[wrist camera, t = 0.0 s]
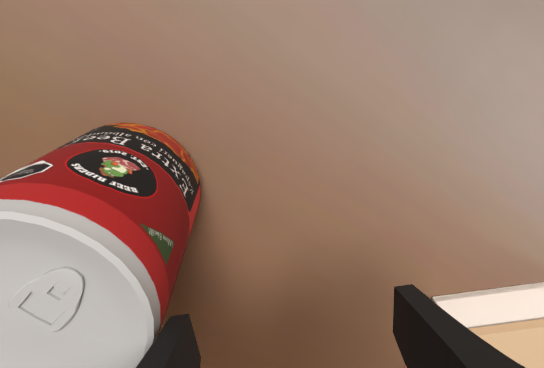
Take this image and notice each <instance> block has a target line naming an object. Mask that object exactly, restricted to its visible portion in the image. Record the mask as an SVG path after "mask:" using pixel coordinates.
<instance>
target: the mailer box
mask: <svg viewBox="0 0 544 368" xmlns="http://www.w3.org/2000/svg"><path fill="white" fill-rule="evenodd" d="M432 301H433V302H435V303H436V304H437V305H438V306H440V307H441V308H442V309H443V310H445V311H446V312H447V313H448V314H450V315H451V316H452V317H453V318H455V319H456V320H457V321H459V322H460V323H461V324H463V325H464V326H465V327H467V328H468V329H470V328H478V327H485V326H492V325H500V324H507V323H515V322H522V321H530V320H537V319H544V282H540V283H532V284H525V285H517V286H510V287H502V288H495V289H487V290H480V291H472V292H465V293H457V294H450V295H442V296H434V297H432Z"/></svg>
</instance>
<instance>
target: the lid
mask: <svg viewBox="0 0 544 368" xmlns="http://www.w3.org/2000/svg"><path fill="white" fill-rule="evenodd" d="M469 330H470V331H472V332H473V333H475V334H476V335H477V336H479V337H480V338H481V339H483V340H484V341H486V342H487V343H489V344H490V345H492V346H493V347H494V348H496V349H497V350H499V351H500V352H502V353H503V354H505V355H506V356H508V357H509V358H511V359H512V360H514V361H516V362H517V363H519V364H520V365H522V366H524V367H525V368H544V319H537V320H530V321H522V322H515V323H507V324H500V325H492V326H485V327H478V328H470V329H469Z"/></svg>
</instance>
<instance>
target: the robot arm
mask: <svg viewBox="0 0 544 368" xmlns="http://www.w3.org/2000/svg"><path fill="white" fill-rule="evenodd" d="M393 333H394V336H395V339H396V341H397V344H398V347H399V349H400V352H401V354H402V357H403V359H404V362H405V364H406V366H407V368H525V367H524V366H522V365H520V364H519V363H517V362H516V361H514V360H512V359H511V358H509V357H508V356H506V355H505V354H503V353H502V352H500V351H499V350H497V349H496V348H494V347H493V346H492V345H490V344H489V343H487V342H486V341H484V340H483V339H481V338H480V337H479V336H477V335H476V334H475V333H473V332H472V331H470V330H469V329H468V328H467V327H465V326H464V325H463V324H461V323H460V322H459V321H457V320H456V319H455V318H453V317H452V316H451V315H450V314H448V313H447V312H446V311H445V310H443V309H442V308H441V307H440V306H438V305H437V304H436V303H435V302H433V301H432V300H431V299H430V298H428V297H427V296H426V295H425V294H424V293H422V292H421V291H420V290H419V289H417V288H416V287H415V286H414V285H412V284H411V285H404V286H396V287H394V315H393ZM200 361H201V357H200V353H199V349H198V346H197V342H196V338H195V335H194V331H193V327H192V324H191V320H190V316H189V314H184V315H177V316H171V317H170V318H169V319H168V321H167V322H166V324H165V325H164V327H163V328H162V330H161V331H160V333H159V335H158V336H157V338H156V339H155V341H154V342H153V344H152V345H151V346H150V348H149V349H148V351H147V352H146V354H145V355H144V357H143V358H142V360H141V361H140V362H139V364H138V365H137V367H136V368H200Z"/></svg>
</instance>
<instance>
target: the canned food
mask: <svg viewBox="0 0 544 368" xmlns="http://www.w3.org/2000/svg"><path fill="white" fill-rule="evenodd" d="M200 190H201V187H200V181H199V176H198V173H197V170H196V168H195V165H194V163H193V161H192V159H191V158H190V156H189V155H188V153H187V152H186V150H185V149H184V148H183V147H182V146H181V145H180V144H179V143H178V142H177V141H176V140H174V139H173V138H172V137H170V136H169V135H167V134H166V133H164V132H162V131H159V130H157V129H155V128H152V127H148V126H144V125H140V124H135V123H116V124H109V125H104V126H102V127H99V128H96V129H93V130H91V131H89V132H88V133H86V134H84V135H82V136H80V137H78V138H76V139H74V140H73V141H71V142H69V143H67V144H65V145H63V146H61V147H59V148H58V149H56V150H54V151H52V152H50V153H48V154H46V155H44V156H43V157H41V158H39V159H37V160H35V161H33V162H31V163H30V164H28V165H26V166H24V167H22V168H20V169H18V170H16V171H15V172H13V173H11V174H9V175H7V176H5V177H3V178H1V179H0V368H136V367H137V365H138V364H139V362H140V361H141V360H142V358H143V357H144V355H145V354H146V352H147V351H148V349H149V348H150V346H151V345H152V344H153V342H154V341H155V339H156V338H157V336H158V334H159V330H160V327H161V324H162V322H163V319H164V317H165V314H166V310H167V307H168V304H169V301H170V297H171V294H172V291H173V288H174V284H175V281H176V278H177V275H178V271H179V268H180V265H181V262H182V258H183V255H184V252H185V249H186V245H187V242H188V239H189V236H190V233H191V229H192V226H193V223H194V220H195V216H196V213H197V210H198V206H199V202H200Z"/></svg>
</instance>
